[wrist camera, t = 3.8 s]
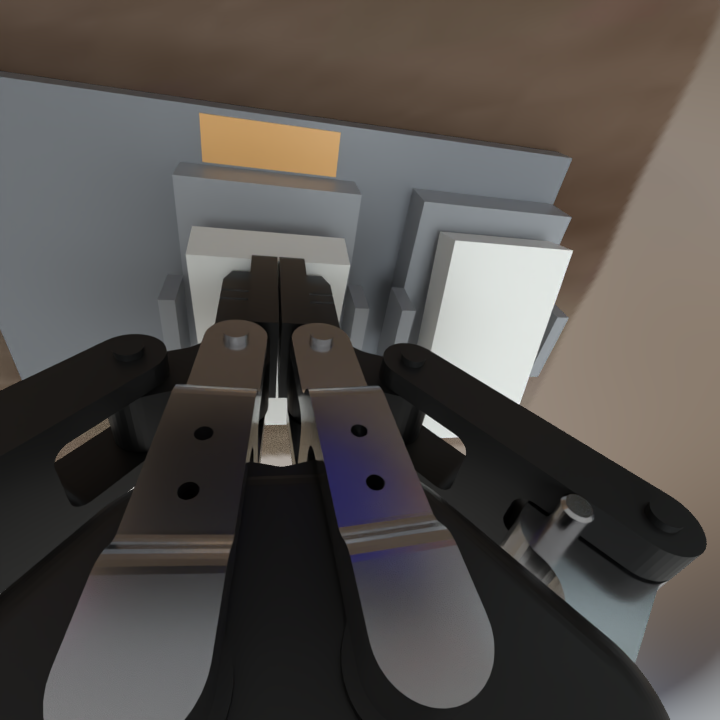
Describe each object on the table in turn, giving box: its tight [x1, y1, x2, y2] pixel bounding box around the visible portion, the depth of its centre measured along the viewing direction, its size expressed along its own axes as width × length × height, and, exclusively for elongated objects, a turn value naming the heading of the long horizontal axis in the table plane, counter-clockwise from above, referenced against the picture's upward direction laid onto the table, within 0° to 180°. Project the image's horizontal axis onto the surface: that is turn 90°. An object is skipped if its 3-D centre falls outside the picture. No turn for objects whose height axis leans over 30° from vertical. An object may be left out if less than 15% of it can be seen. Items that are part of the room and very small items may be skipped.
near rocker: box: [186, 226, 350, 425], centre depth 15 cm, size 4×8×1 cm, turn 172°
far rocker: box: [417, 231, 573, 438], centre depth 17 cm, size 4×8×1 cm, turn 172°
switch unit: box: [0, 71, 572, 380], centre depth 17 cm, size 21×13×4 cm, turn 81°
